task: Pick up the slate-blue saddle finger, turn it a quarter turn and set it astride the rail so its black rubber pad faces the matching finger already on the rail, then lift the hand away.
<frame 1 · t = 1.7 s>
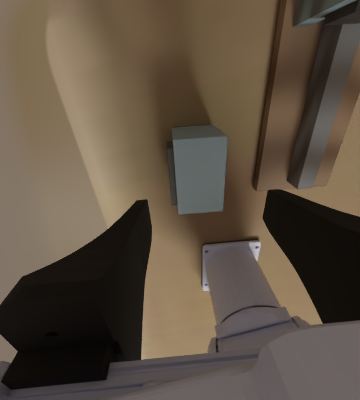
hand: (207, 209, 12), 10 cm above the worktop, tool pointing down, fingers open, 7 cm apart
rail base: (310, 85, 17), on the worktop
saddle finger: (192, 158, 20), on the worktop
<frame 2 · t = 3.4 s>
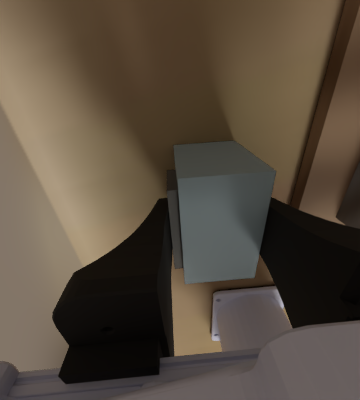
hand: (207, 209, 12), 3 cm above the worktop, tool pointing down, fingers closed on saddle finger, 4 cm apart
saddle finger: (203, 187, 14), on the worktop, touching gripper
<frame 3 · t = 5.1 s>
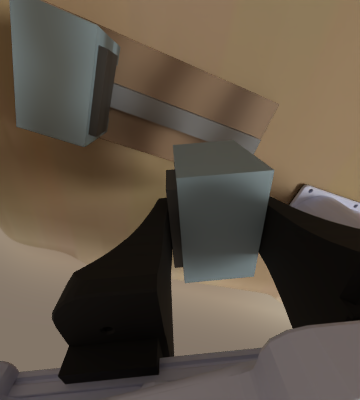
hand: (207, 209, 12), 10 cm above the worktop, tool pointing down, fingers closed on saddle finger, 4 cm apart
rail base: (159, 109, 18), on the worktop
saddle finger: (203, 187, 14), point 7 cm above the worktop, touching gripper
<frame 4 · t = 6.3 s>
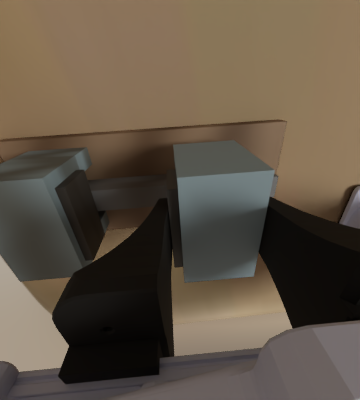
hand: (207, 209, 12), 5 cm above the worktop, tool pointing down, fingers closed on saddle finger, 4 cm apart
rail base: (151, 179, 16), on the worktop
saddle finger: (203, 187, 14), point 2 cm above the worktop, touching gripper
when the fingers open (5 cm above the worktop, at t = 7.1 s): saddle finger drops 1 cm, resting on rail base.
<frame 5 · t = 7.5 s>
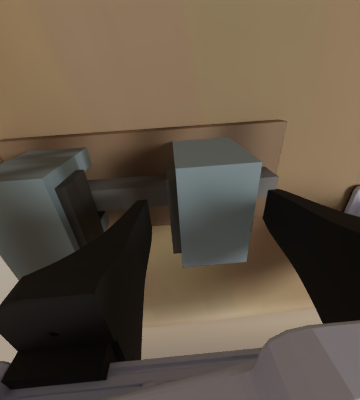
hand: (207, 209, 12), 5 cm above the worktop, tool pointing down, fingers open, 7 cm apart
rail base: (151, 179, 16), on the worktop
saddle finger: (200, 181, 15), point 1 cm above the worktop, touching rail base
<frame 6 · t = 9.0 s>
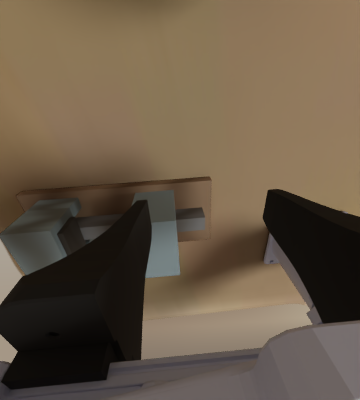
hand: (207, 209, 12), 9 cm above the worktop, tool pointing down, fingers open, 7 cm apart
rail base: (124, 214, 22), on the worktop
saddle finger: (158, 216, 22), point 1 cm above the worktop, touching rail base
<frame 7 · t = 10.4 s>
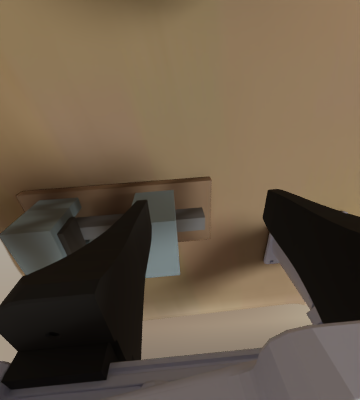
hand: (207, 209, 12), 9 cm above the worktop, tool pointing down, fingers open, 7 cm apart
rail base: (124, 214, 22), on the worktop
saddle finger: (158, 216, 22), point 1 cm above the worktop, touching rail base
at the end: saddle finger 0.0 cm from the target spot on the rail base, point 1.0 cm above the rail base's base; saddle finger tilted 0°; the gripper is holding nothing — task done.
